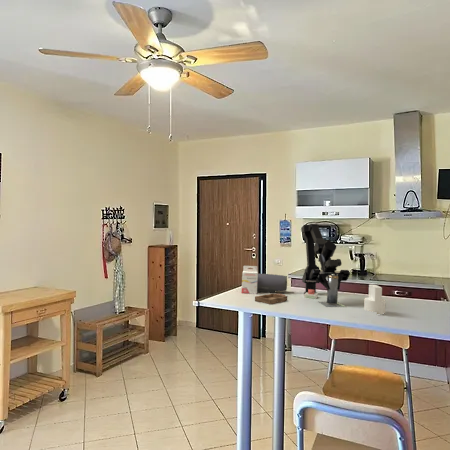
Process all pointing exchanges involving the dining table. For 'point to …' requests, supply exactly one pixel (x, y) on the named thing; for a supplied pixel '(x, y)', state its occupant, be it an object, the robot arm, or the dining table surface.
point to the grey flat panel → (332, 304)
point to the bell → (332, 289)
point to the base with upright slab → (375, 300)
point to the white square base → (311, 295)
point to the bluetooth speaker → (271, 283)
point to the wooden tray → (271, 298)
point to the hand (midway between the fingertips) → (333, 289)
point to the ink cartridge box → (249, 279)
